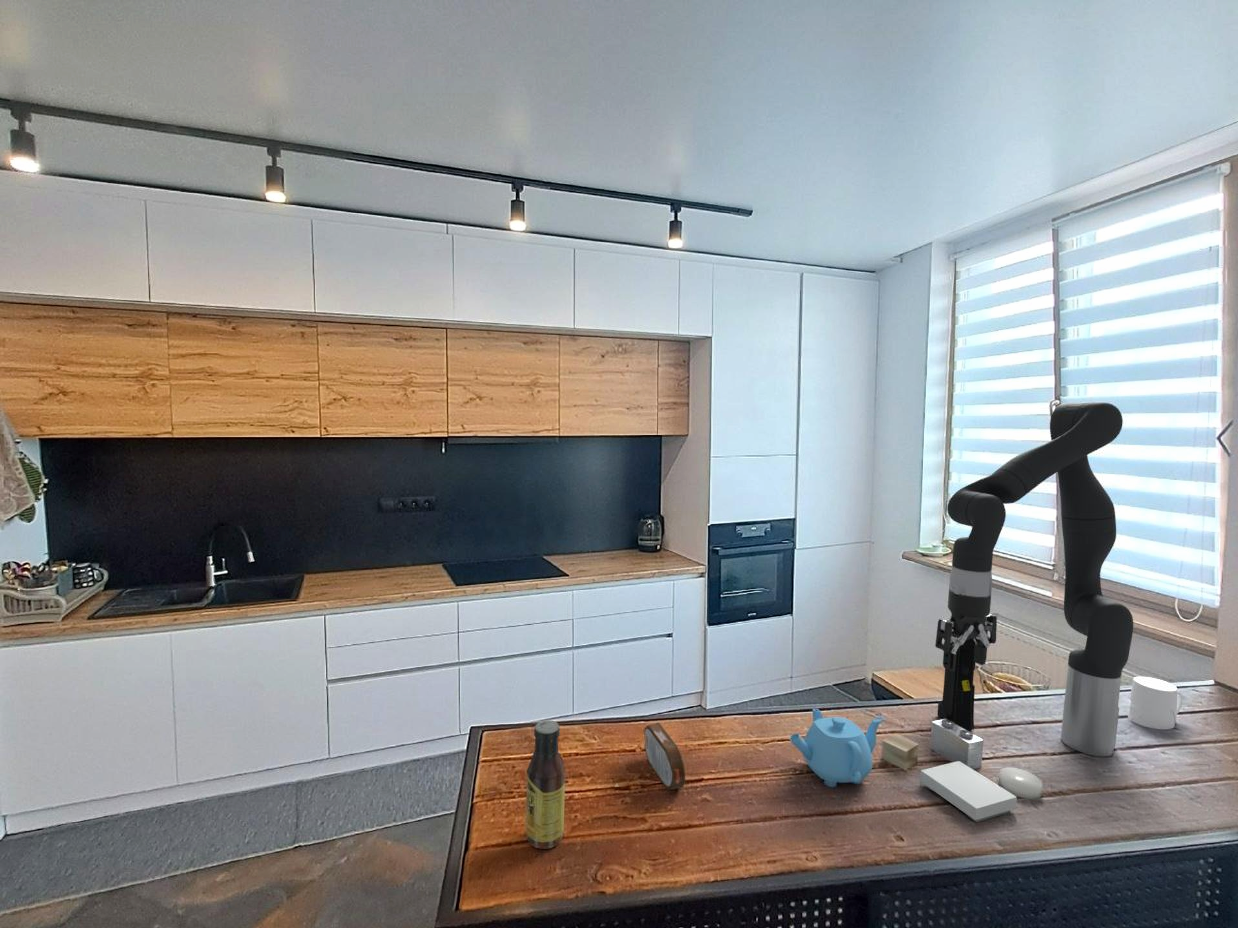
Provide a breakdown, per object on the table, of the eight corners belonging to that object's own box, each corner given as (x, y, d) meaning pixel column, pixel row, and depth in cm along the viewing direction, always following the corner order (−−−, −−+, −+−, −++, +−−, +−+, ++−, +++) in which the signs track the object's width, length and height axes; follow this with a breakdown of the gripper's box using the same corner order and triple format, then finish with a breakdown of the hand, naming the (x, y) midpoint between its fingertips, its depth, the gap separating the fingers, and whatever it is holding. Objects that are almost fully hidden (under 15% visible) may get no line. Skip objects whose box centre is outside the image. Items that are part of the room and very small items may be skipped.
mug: (1154, 691, 142) (1121, 676, 150) (1150, 730, 143) (1117, 713, 151) (1199, 689, 144) (1164, 674, 151) (1194, 728, 144) (1160, 711, 152)
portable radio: (976, 734, 139) (985, 626, 137) (947, 731, 140) (955, 624, 138) (964, 717, 147) (972, 615, 144) (936, 714, 148) (944, 612, 145)
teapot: (813, 744, 133) (816, 694, 132) (880, 768, 125) (884, 714, 124) (786, 777, 121) (789, 722, 120) (858, 806, 113) (862, 747, 112)
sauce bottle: (527, 826, 105) (528, 714, 103) (564, 825, 106) (565, 713, 104) (524, 854, 99) (525, 735, 97) (563, 852, 99) (565, 734, 97)
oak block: (894, 751, 132) (895, 733, 131) (917, 762, 128) (918, 743, 127) (881, 758, 129) (882, 740, 128) (904, 770, 125) (906, 751, 124)
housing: (943, 744, 135) (946, 715, 134) (981, 767, 126) (983, 736, 126) (929, 748, 133) (932, 718, 133) (966, 771, 125) (969, 740, 124)
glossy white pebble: (1015, 773, 124) (1016, 764, 124) (1050, 794, 118) (1051, 784, 117) (990, 780, 122) (991, 771, 121) (1024, 802, 115) (1025, 792, 115)
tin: (685, 797, 114) (687, 753, 114) (670, 800, 113) (671, 756, 112) (655, 753, 128) (656, 714, 128) (640, 755, 127) (642, 716, 127)
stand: (957, 775, 123) (959, 760, 123) (1015, 812, 112) (1016, 796, 112) (919, 784, 120) (920, 770, 119) (975, 824, 109) (976, 808, 108)
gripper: (978, 581, 132) (972, 654, 133) (928, 587, 127) (923, 664, 128) (1012, 591, 125) (1005, 668, 126) (960, 598, 120) (954, 679, 121)
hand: (964, 666), depth 127 cm, fingers open, 8 cm apart
